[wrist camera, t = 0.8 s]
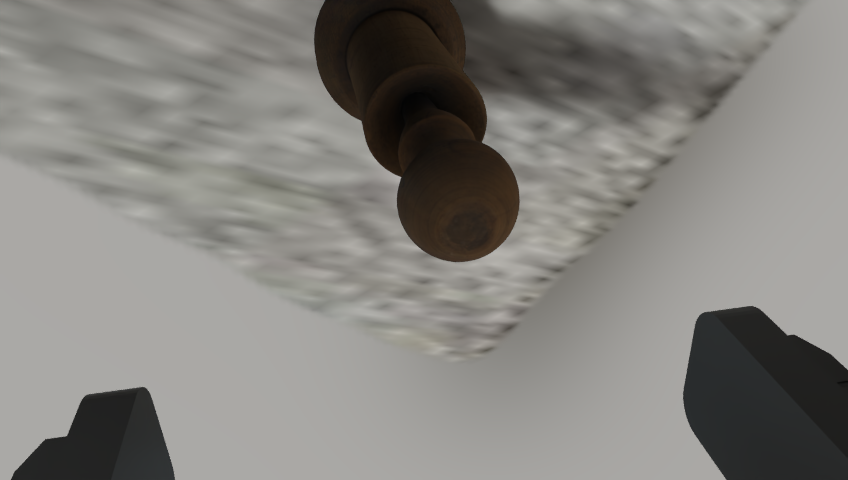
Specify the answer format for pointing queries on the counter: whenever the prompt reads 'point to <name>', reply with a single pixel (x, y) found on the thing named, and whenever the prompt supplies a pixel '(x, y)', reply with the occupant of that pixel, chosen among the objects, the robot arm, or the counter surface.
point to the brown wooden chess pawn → (420, 119)
